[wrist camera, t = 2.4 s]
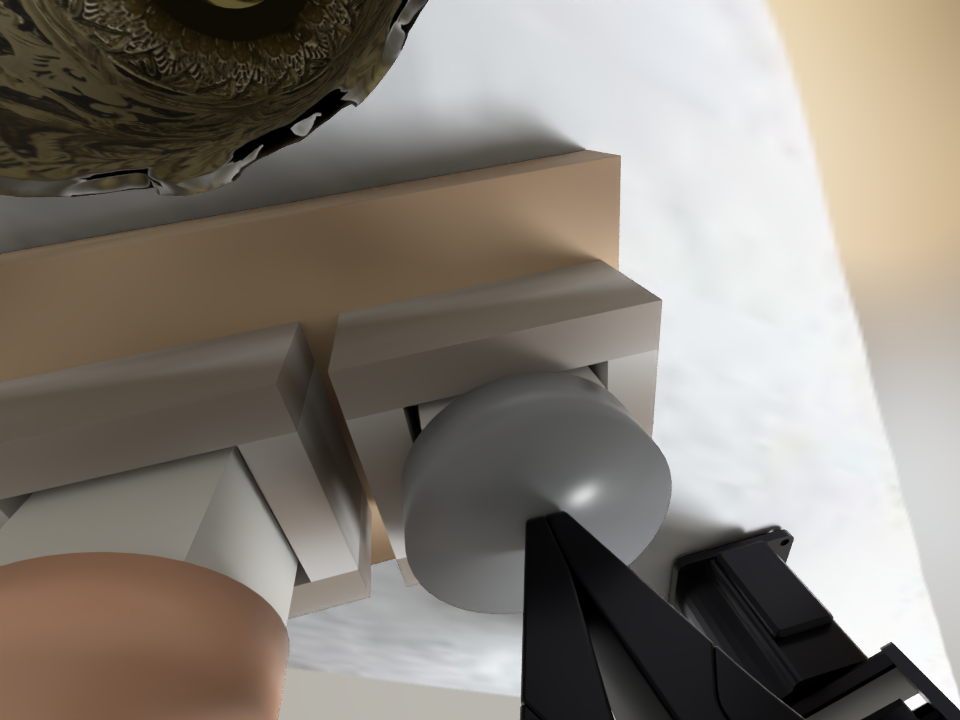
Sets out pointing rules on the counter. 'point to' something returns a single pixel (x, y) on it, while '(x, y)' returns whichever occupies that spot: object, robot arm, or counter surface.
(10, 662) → the plunger terracotta
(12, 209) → the counter surface
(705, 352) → the counter surface
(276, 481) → the button board
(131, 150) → the cup
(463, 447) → the plunger grey
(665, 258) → the counter surface
